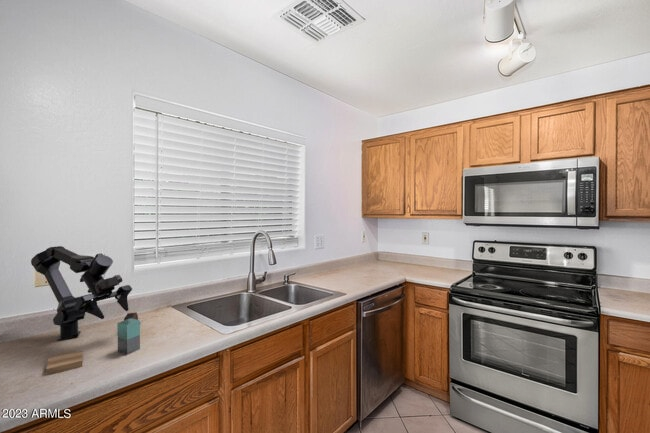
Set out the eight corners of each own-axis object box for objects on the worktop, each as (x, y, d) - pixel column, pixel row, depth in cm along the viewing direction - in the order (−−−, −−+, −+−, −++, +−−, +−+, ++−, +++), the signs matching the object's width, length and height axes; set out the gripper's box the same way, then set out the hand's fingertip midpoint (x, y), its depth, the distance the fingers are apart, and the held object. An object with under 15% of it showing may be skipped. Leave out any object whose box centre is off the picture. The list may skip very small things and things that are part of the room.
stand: (48, 364, 104) (48, 358, 104) (82, 356, 109) (82, 350, 109) (46, 375, 97) (45, 369, 97) (82, 366, 102) (82, 360, 102)
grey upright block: (140, 325, 139) (140, 308, 139) (134, 333, 130) (133, 316, 130) (129, 326, 138) (129, 309, 138) (122, 334, 129) (121, 317, 128)
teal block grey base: (117, 352, 112) (117, 322, 112) (130, 346, 117) (130, 318, 117) (127, 354, 111) (126, 324, 110) (140, 348, 115) (139, 320, 115)
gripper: (78, 274, 109) (100, 308, 105) (128, 265, 126) (148, 294, 122) (65, 294, 112) (85, 328, 108) (116, 282, 129) (135, 311, 125)
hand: (115, 314), depth 116 cm, fingers open, 9 cm apart
